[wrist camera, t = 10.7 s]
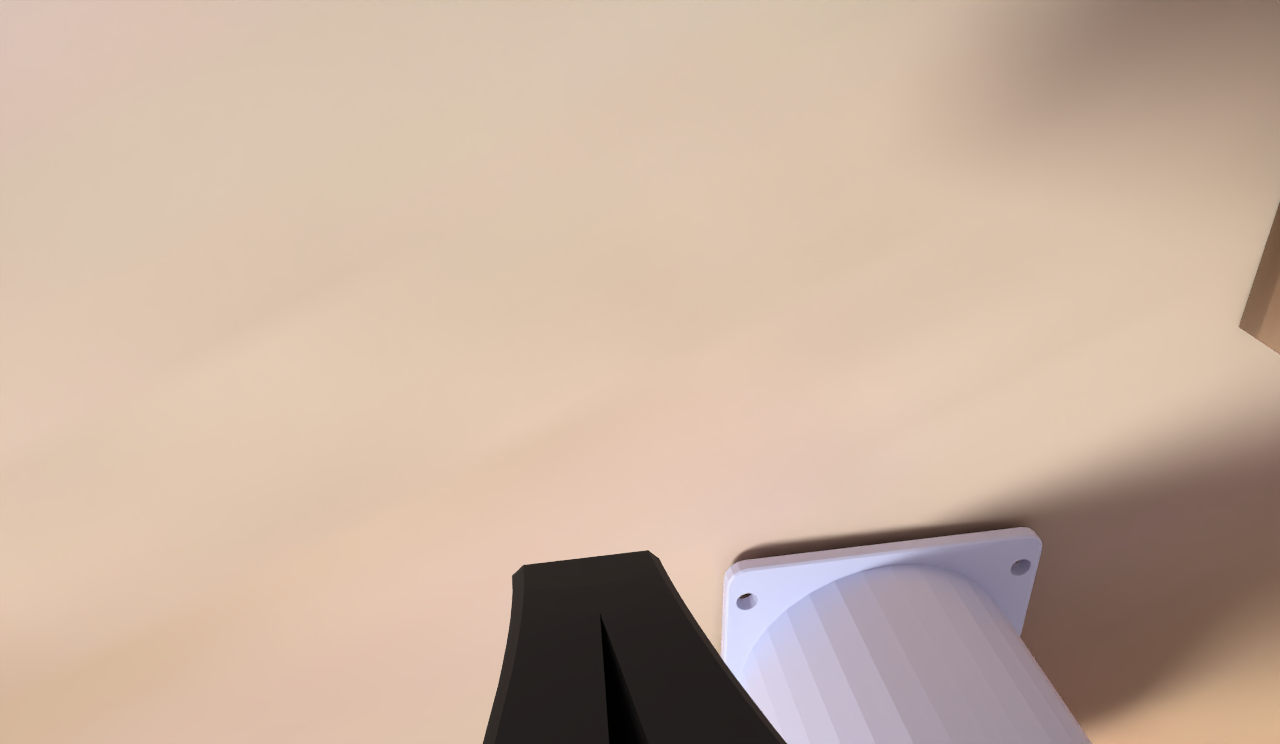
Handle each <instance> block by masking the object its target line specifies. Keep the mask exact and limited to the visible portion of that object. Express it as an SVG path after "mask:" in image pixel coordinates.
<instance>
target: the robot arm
mask: <svg viewBox="0 0 1280 744" xmlns="http://www.w3.org/2000/svg"><path fill="white" fill-rule="evenodd" d="M1041 552H1042V541H1041V539H1040V538H1039V537H1038V535H1037V534H1036V533H1035V532H1034V530H1032V529H1030V528H1028V527H1018V528H1009V529H1001V530H992V531H984V532H976V533H967V534H959V535H950V536H942V537H934V538H925V539H917V540H909V541H900V542H892V543H883V544H875V545H867V546H858V547H850V548H841V549H833V550H825V551H816V552H808V553H800V554H791V555H783V556H774V557H766V558H758V559H749V560H743V561H740V562H737V563H735V564H733V565H732V566H730V568H729V569H728V570H727V571H726V573H725V576H724V589H723V615H722V641H721V657H720V655H719V654H718V652H717V651H716V649H715V648H714V647H713V645H712V644H711V642H710V641H709V639H708V638H707V636H706V635H705V633H704V632H703V630H702V629H701V627H700V626H699V625H698V623H697V622H696V620H695V619H694V617H693V615H692V614H691V612H690V611H689V609H688V608H687V606H686V605H685V603H684V601H683V600H682V598H681V596H680V595H679V593H678V592H677V590H676V588H675V587H674V585H673V583H672V581H671V580H670V578H669V576H668V575H667V573H666V571H665V569H664V567H663V565H662V563H661V561H660V560H659V558H658V557H656V556H655V555H654V554H652V553H651V552H650V551H648V550H647V551H639V552H631V553H622V554H614V555H605V556H597V557H588V558H580V559H572V560H563V561H555V562H546V563H538V564H529V565H523V566H522V567H521V568H520V569H519V570H518V571H517V572H516V573H515V574H514V575H513V576H512V585H513V596H512V608H511V619H510V626H509V633H508V639H507V645H506V650H505V655H504V660H503V665H502V670H501V675H500V680H499V684H498V688H497V692H496V696H495V699H494V703H493V707H492V711H491V715H490V718H489V722H488V726H487V730H486V734H485V737H484V741H483V744H1092V743H1091V742H1090V740H1089V739H1088V737H1087V736H1086V734H1085V733H1084V731H1083V730H1082V728H1081V727H1080V725H1079V724H1078V722H1077V721H1076V719H1075V718H1074V716H1073V715H1072V713H1071V712H1070V710H1069V709H1068V708H1067V706H1066V705H1065V703H1064V702H1063V700H1062V699H1061V697H1060V696H1059V694H1058V693H1057V691H1056V690H1055V688H1054V687H1053V685H1052V684H1051V682H1050V681H1049V679H1048V678H1047V676H1046V675H1045V673H1044V672H1043V671H1042V669H1041V668H1040V666H1039V665H1038V663H1037V662H1036V660H1035V659H1034V657H1033V656H1032V654H1031V653H1030V651H1029V650H1028V648H1027V647H1026V645H1025V644H1024V642H1023V641H1022V639H1021V638H1020V636H1021V632H1022V628H1023V624H1024V620H1025V616H1026V612H1027V608H1028V604H1029V600H1030V596H1031V592H1032V588H1033V584H1034V580H1035V576H1036V572H1037V568H1038V564H1039V560H1040V556H1041ZM1019 560H1020V561H1019ZM1017 561H1019V562H1018V563H1016V564H1014V563H1015V562H1017ZM747 593H751V595H749V596H748V597H746V598H743V599H741V598H739V597H740V596H741V595H744V594H747Z"/></svg>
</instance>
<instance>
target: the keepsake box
mask: <svg viewBox="0 0 1280 744" xmlns="http://www.w3.org/2000/svg"><path fill="white" fill-rule="evenodd" d="M1239 327H1240V328H1241V329H1243V330H1244V331H1246V332H1247V333H1249V334H1250V335H1252V336H1253V337H1255V338H1256V339H1258V340H1259V341H1261V342H1262V343H1264V344H1265V345H1267V346H1268V347H1270V348H1271V349H1273V350H1274V351H1276V352H1277V353H1279V354H1280V204H1279V207H1278V210H1277V213H1276V216H1275V219H1274V222H1273V225H1272V228H1271V231H1270V234H1269V237H1268V240H1267V243H1266V246H1265V249H1264V252H1263V255H1262V258H1261V261H1260V264H1259V268H1258V271H1257V274H1256V277H1255V280H1254V283H1253V286H1252V289H1251V292H1250V295H1249V298H1248V301H1247V304H1246V307H1245V310H1244V313H1243V316H1242V319H1241V322H1240V325H1239Z"/></svg>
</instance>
